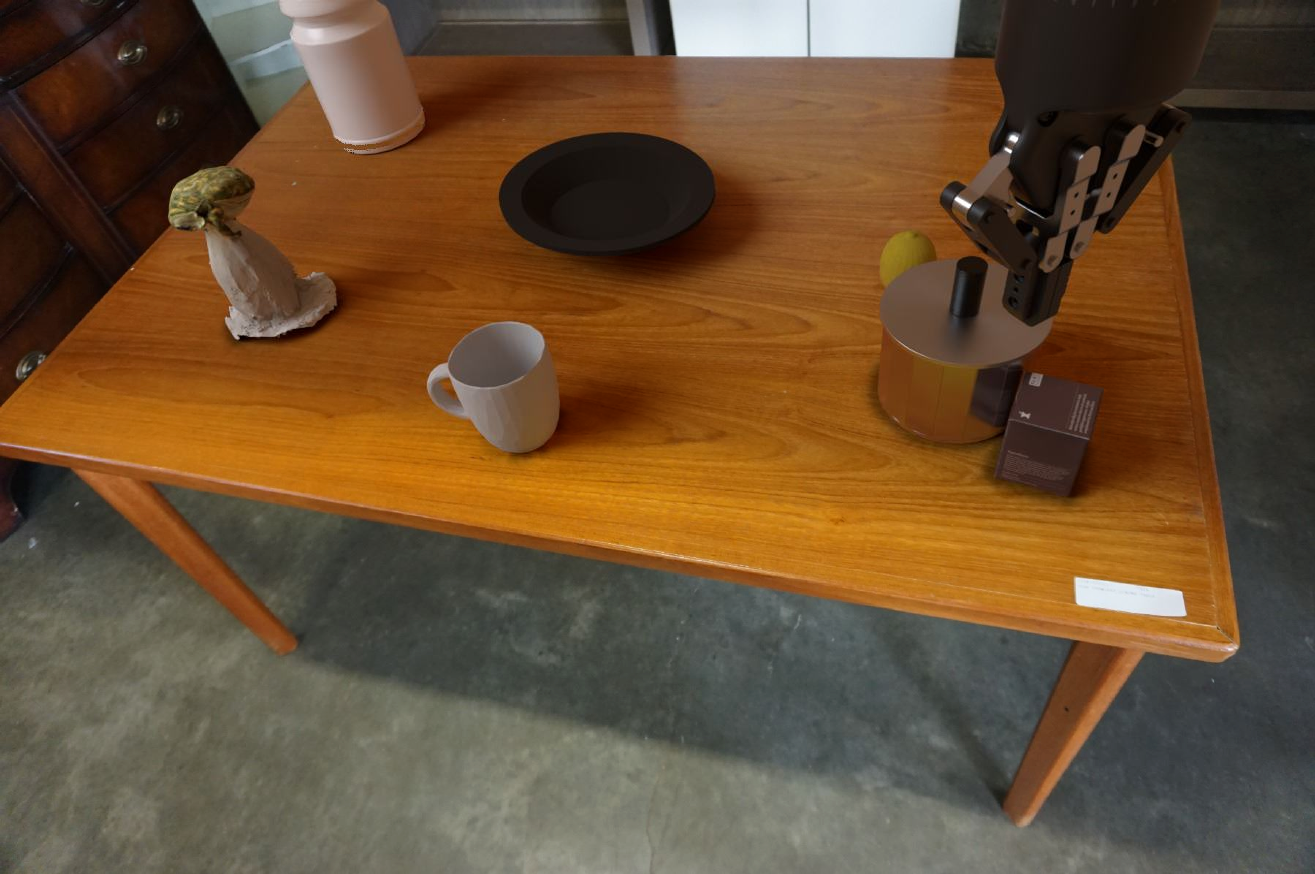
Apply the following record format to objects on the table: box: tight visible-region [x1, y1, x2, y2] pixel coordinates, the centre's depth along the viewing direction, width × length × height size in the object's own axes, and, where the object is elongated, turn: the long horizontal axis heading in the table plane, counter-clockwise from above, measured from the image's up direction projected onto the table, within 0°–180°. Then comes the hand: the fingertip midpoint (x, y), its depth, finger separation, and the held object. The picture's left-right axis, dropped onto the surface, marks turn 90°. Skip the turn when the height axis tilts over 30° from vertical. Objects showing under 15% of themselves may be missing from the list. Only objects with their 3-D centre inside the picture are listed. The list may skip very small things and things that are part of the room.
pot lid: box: [878, 255, 1054, 369], centre depth 69 cm, size 14×14×6 cm
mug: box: [426, 320, 561, 454], centre depth 78 cm, size 13×9×10 cm
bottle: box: [278, 0, 426, 155], centre depth 117 cm, size 14×14×28 cm
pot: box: [876, 327, 1042, 445], centre depth 74 cm, size 13×13×10 cm
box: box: [993, 372, 1104, 498], centre depth 68 cm, size 6×6×7 cm
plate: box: [498, 131, 717, 258], centre depth 100 cm, size 28×24×6 cm
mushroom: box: [167, 165, 338, 340], centre depth 92 cm, size 12×13×18 cm
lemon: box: [879, 230, 938, 289], centre depth 84 cm, size 6×6×8 cm
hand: (1029, 313), depth 43 cm, fingers closed
